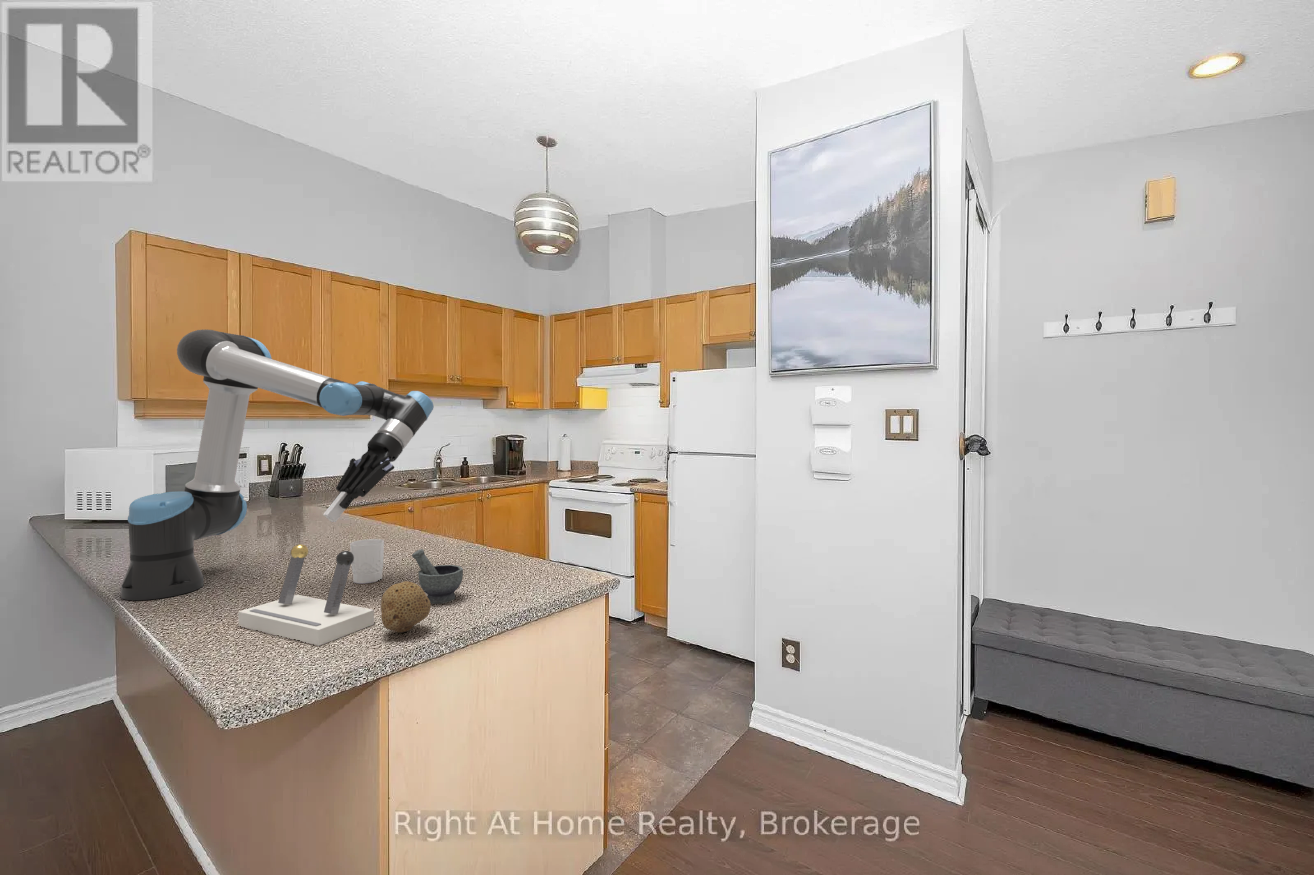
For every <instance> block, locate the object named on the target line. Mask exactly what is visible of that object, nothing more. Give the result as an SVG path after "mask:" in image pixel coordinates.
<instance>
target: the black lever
mask: <svg viewBox="0 0 1314 875" xmlns="http://www.w3.org/2000/svg"><path fill="white" fill-rule="evenodd" d="M335 561H336V565H335V569H334V572H333V577H332V581H331V583H330V588H329V591H328V595H327V598H326V600H327V602H326V606H325V610H324V612H325V613H329V614H338V611H339V607H340V603H342V599H343V595H344V593H345V591H344V590H345V588H346V584H347V580H348V575H349V572H350V568H351V564H352V562H353V561H354V555H353V554H352V553H351V551H350V550H342V551H340V552H339V553H337V555H336V558H335Z"/></svg>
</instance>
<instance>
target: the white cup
mask: <svg viewBox="0 0 1314 875" xmlns="http://www.w3.org/2000/svg"><path fill="white" fill-rule="evenodd" d="M384 547H385V540H384V539H380V538H368V539H359V540H354V541H352V542H350V543H349V548H350V550H349V551H350V552H351V553H352V554H353V555H354V561H353V562H352V564H351V565H350V567H351V572H352V582H353V583H355V584H362V585H363V584H370V583H371V584H372V583H376V582H379V581H381V580H382V579H383V568H384V553H385V548H384ZM380 579H381V580H380ZM378 580H379V581H378Z"/></svg>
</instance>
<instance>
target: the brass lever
mask: <svg viewBox="0 0 1314 875" xmlns="http://www.w3.org/2000/svg"><path fill="white" fill-rule="evenodd" d="M308 554H309V548H308V546H306V545H305V544H302V543H300V544H299V543H298V544H296V545H294V546H292V548H291V550H290V555H291V556H290V560H289V564H288V567H287V570H286V574H285V578H284V580H283V584H282V587H281V591H280V595H279V599H278V600H279V601H278V603H282V604H292V601H293V598H294V595H296V591H297V586H298V583H299V580H300V577H301V576H300V575H301V572H302V569H303V565H304V561H305V558H306V557H307V556H308Z"/></svg>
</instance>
